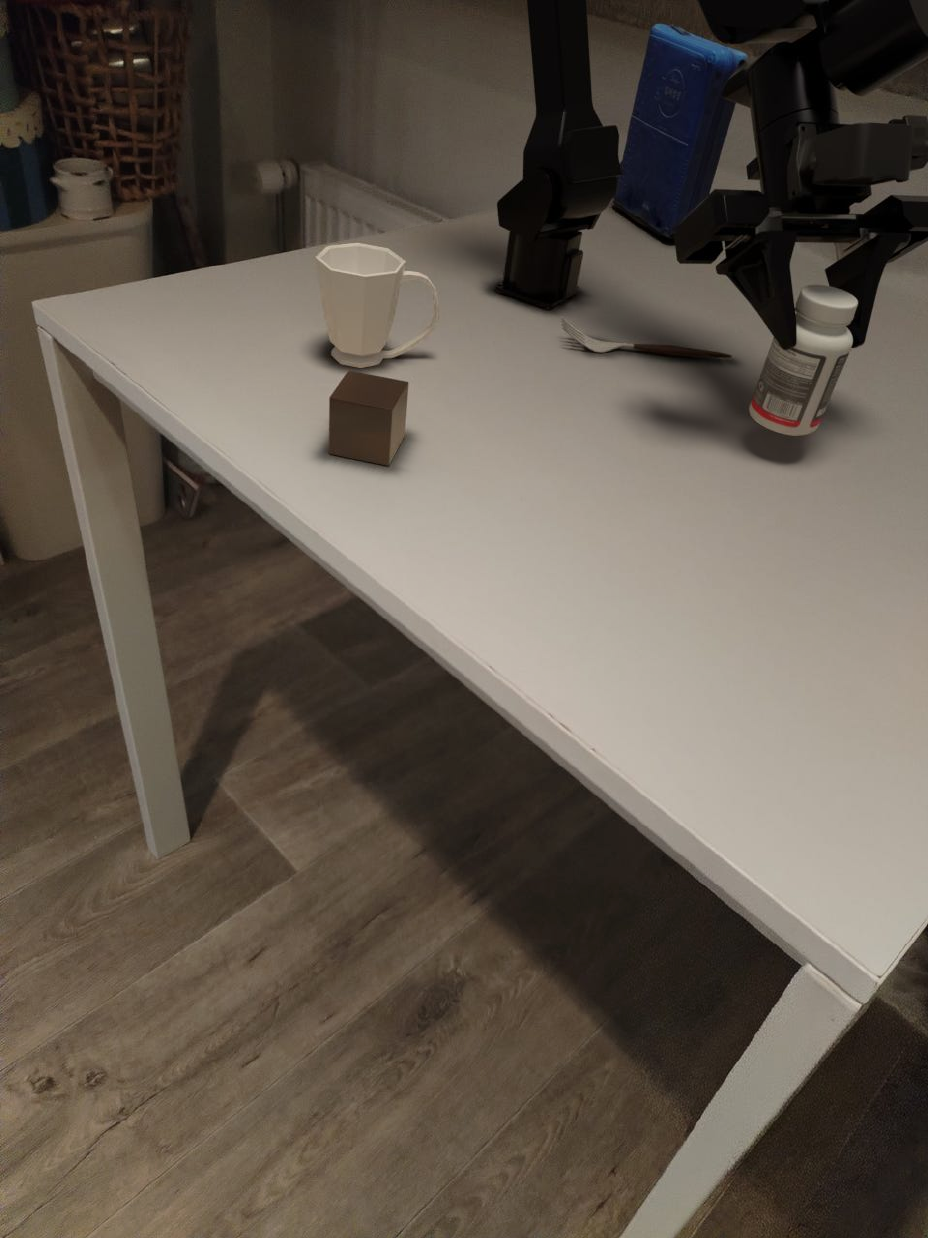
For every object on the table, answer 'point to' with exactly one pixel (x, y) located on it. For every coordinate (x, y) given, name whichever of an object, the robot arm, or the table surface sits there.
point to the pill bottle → (806, 363)
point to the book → (675, 128)
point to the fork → (636, 345)
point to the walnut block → (367, 417)
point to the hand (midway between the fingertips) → (823, 347)
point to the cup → (364, 301)
